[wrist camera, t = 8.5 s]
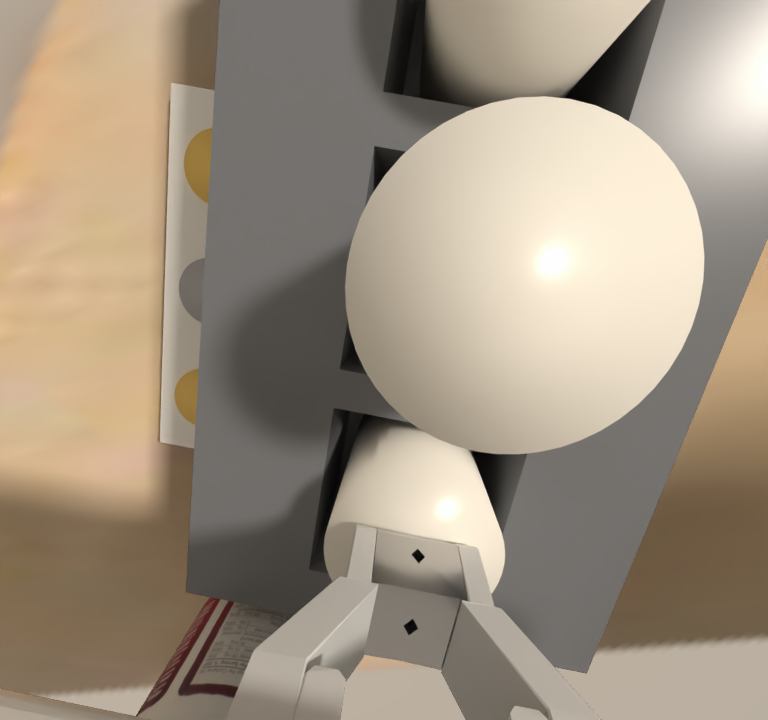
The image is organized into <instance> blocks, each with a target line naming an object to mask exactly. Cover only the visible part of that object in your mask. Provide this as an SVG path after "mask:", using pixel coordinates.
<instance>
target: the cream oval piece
mask: <svg viewBox="0 0 768 720" xmlns="http://www.w3.org/2000/svg"><path fill="white" fill-rule="evenodd" d="M650 1H651V0H426V4H425V18H424V32H423V46H422V60H421V74H420V89H421V98H422V99H428V100H434V101H439V102H445V103H451V104H456V105H462V106H468V107H473V108H478V107H481V106H484V105H487V104H490V103H493V102H498V101H503V100H508V99H514V98H521V97H541V96H546V97H556V98H564V97H565V96H566V95H567V94H568V93H569V92H570V91H571V89H572V88H573V87H574V86H575V85H576V84H577V83H578V82H579V80H580V79H581V78H582V77H583V76H584V75H585V74H586V73H587V71H588V70H589V69H590V68H591V67H592V66H593V65H594V64H595V62H596V61H597V60H598V59H599V58H600V57H601V56H602V55H603V53H604V52H605V51H606V50H607V49H608V48H609V47H610V46H611V44H612V43H613V42H614V41H615V40H616V39H617V38H618V37H619V35H620V34H621V33H622V32H623V31H624V30H625V29H626V28H627V26H628V25H629V24H630V23H631V22H632V21H633V20H634V19H635V17H636V16H637V15H638V14H639V13H640V12H641V11H642V10H643V8H644V7H645V6H646V5H647V4H648V3H649V2H650Z"/></svg>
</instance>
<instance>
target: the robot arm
mask: <svg viewBox="0 0 768 720" xmlns="http://www.w3.org/2000/svg"><path fill="white" fill-rule="evenodd" d="M363 655H370V656H376V657H382V658H388V659H394V660H400V661H405V662H409V663H413V664H418V665H422V666H426V667H430V668H435V669H439V670H442V672H441V673H442V675H443V677H444V678H445V680H446V682H447V684H448V686H449V688H450V690H451V692H452V694H453V696H454V698H455V700H456V702H457V704H458V706H459V708H460V709H461V712H462V713H463V715H464V717H465V719H466V720H601V719H600V718H599V716H598V715H597V714H596V713H595V712H594V711H593V710H592V709H591V707H590V706H589V705H588V704H587V703H586V702H585V701H584V700H583V699H582V697H581V696H580V695H579V694H578V693H577V692H576V691H575V690H574V689H573V688H572V686H571V685H570V684H569V683H568V682H567V681H566V680H565V679H564V677H563V676H562V675H561V674H560V673H559V672H558V671H557V670H556V669H555V667H554V666H553V665H552V664H551V663H550V662H549V661H548V660H547V658H546V657H545V656H544V655H543V654H542V653H541V652H540V651H539V650H538V648H537V647H536V646H535V645H534V644H533V643H532V642H531V641H530V640H529V638H528V637H527V636H526V635H525V634H524V633H523V632H522V631H521V630H520V628H519V627H518V626H517V625H516V624H515V623H514V622H513V621H512V620H511V618H510V617H509V616H508V615H507V614H506V613H505V612H504V611H503V610H502V608H498V607H495V606H494V602H493V599H492V595H491V592H490V588H489V584H488V581H487V577H486V573H485V570H484V566H483V563H482V559H481V555H480V552H479V550H478V548H477V547H473V546H467V545H461V544H452V543H447V542H441V541H436V540H431V539H426V538H420V537H416V536H412V535H407V534H403V533H398V532H394V531H389V530H385V529H380V528H377V529H376V528H374V527H370V526H365V525H360V524H357V525H356V527H355V532H354V537H353V542H352V547H351V552H350V557H349V562H348V567H347V572H346V577H341V576H339V577H338V578H336V579H335V580H334V581H333V582H332V583H331V584H329V585H328V586H327V587H326V588H325V589H324V590H323V591H321V592H320V593H319V594H318V595H317V596H316V597H314V598H313V599H312V600H311V601H310V602H309V603H307V604H306V605H305V606H304V607H303V608H302V609H301V610H299V611H298V612H297V613H296V614H295V615H294V616H292V617H291V618H290V619H289V620H288V621H287V622H286V623H284V624H283V625H282V626H281V627H280V628H279V629H277V630H276V631H275V632H274V633H273V634H272V635H271V636H269V637H268V638H267V639H266V640H265V641H264V642H262V643H261V644H260V645H259V646H258V647H257V648H256V649H254V651H253V653H252V656H251V658H250V661H249V663H248V665H247V668H246V670H245V673H244V675H243V678H242V680H241V682H240V685H239V687H238V690H237V692H236V695H235V697H234V700H233V702H232V704H231V707H230V709H229V712H228V714H227V717H226V719H225V720H340V718H341V711H342V703H343V697H344V689H345V682H346V681H347V679H348V678H349V677H350V675H351V674H352V672H353V671H354V670H355V668H356V667H357V665H358V664H359V662H360V661H361V660H362V658H363ZM0 720H151V719H146V718H141V717H136V716H131V715H126V714H121V713H117V712H112V711H107V710H102V709H97V708H93V707H88V706H83V705H78V704H73V703H68V702H63V701H59V700H54V699H49V698H44V697H39V696H34V695H29V694H25V693H20V692H15V691H10V690H5V689H0Z"/></svg>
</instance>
